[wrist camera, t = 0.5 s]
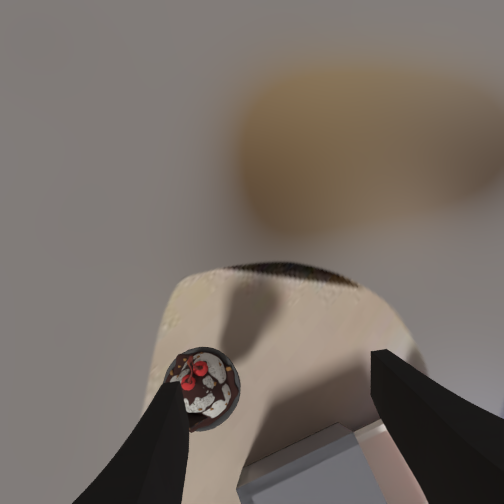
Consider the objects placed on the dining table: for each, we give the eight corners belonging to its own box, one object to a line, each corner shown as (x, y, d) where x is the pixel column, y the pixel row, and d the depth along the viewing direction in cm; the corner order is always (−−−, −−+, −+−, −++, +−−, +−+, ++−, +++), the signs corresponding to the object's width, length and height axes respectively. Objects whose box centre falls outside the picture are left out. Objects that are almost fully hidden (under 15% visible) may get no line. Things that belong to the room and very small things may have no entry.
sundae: (226, 342, 41) (203, 323, 27) (258, 395, 39) (251, 403, 25) (177, 375, 40) (126, 373, 26) (207, 431, 38) (169, 461, 24)
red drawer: (469, 526, 33) (505, 553, 28) (368, 580, 32) (386, 618, 27) (400, 399, 37) (421, 402, 32) (309, 443, 36) (315, 454, 31)
